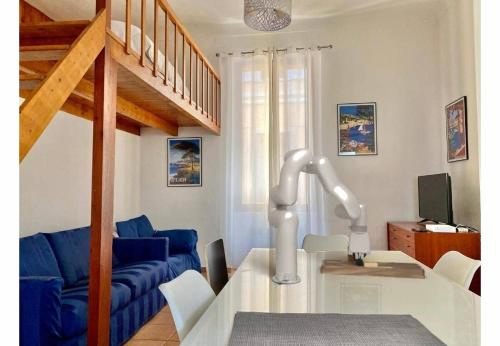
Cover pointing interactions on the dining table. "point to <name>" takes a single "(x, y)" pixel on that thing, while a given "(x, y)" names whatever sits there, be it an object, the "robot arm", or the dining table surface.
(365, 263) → the block
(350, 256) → the condiment
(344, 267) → the box
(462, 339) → the dining table surface
